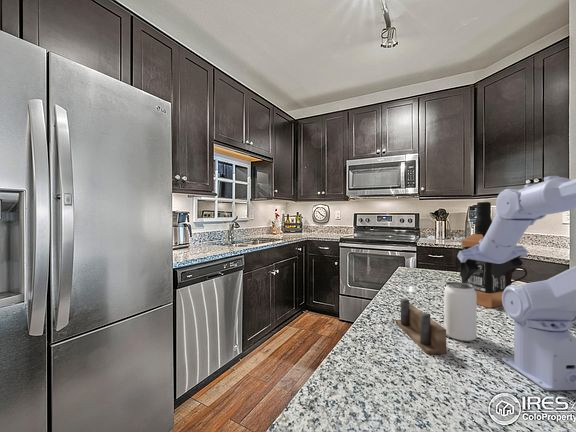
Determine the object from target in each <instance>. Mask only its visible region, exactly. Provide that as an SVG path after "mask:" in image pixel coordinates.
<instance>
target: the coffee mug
mask: <svg viewBox="0 0 576 432" xmlns="http://www.w3.org/2000/svg"><path fill="white" fill-rule="evenodd" d="M518 269H520V270H522V271H524V275H523V276H522V277H520V278H517V279H514V280H512V278H513V273H514V272H515V271H516V270H518ZM527 275H528V271H527V270H526V268H524V267H522V266H520V267H516V268H514V269H512V270H510V271H508V272H506V287H507V286H510V285H513V283H515V282H518V281H521V280H523V279H524V278H526V276H527Z"/></svg>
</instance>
